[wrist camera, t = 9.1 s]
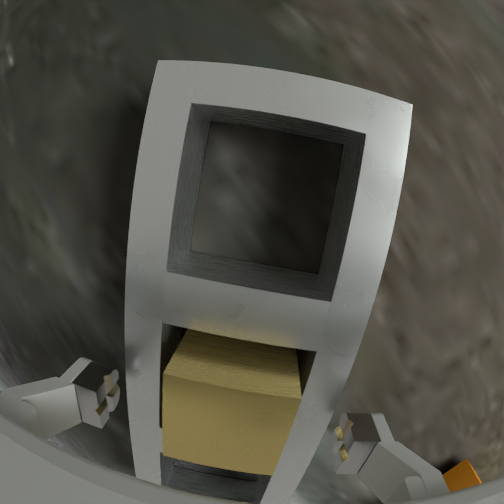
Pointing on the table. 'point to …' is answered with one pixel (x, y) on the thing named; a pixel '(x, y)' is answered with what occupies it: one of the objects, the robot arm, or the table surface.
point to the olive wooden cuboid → (229, 402)
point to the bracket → (461, 477)
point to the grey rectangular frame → (248, 273)
